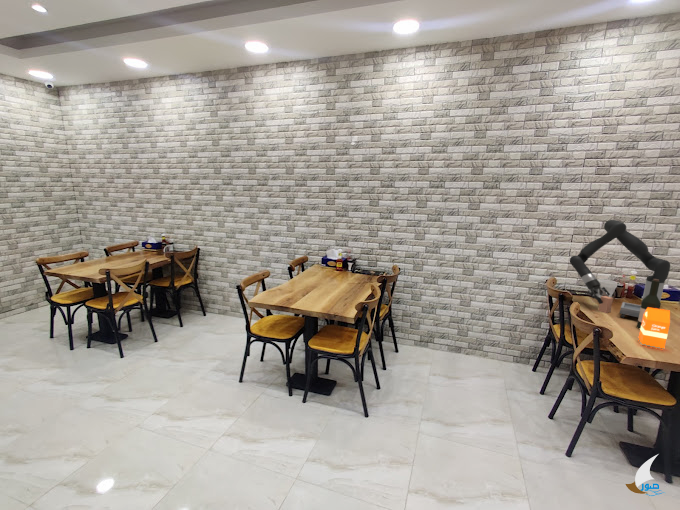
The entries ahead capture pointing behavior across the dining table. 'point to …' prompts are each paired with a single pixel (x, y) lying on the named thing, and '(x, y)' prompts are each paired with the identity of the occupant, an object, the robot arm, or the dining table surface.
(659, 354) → the dining table surface
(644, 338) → the orange juice
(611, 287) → the cup
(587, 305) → the dining table surface
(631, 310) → the grey square tray
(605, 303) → the terracotta block
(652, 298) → the wine bottle
